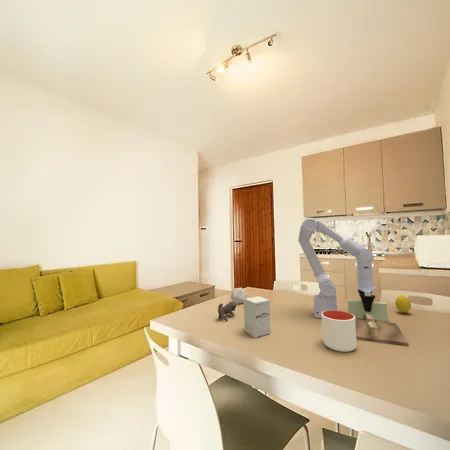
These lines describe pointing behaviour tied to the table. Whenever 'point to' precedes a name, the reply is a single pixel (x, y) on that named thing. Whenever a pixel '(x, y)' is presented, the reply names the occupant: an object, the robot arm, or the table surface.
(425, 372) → the table surface
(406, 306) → the lemon
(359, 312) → the slotted plate
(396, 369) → the table surface
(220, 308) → the dog figurine
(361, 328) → the base
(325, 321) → the cup
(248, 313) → the supplement box
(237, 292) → the die
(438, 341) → the table surface
